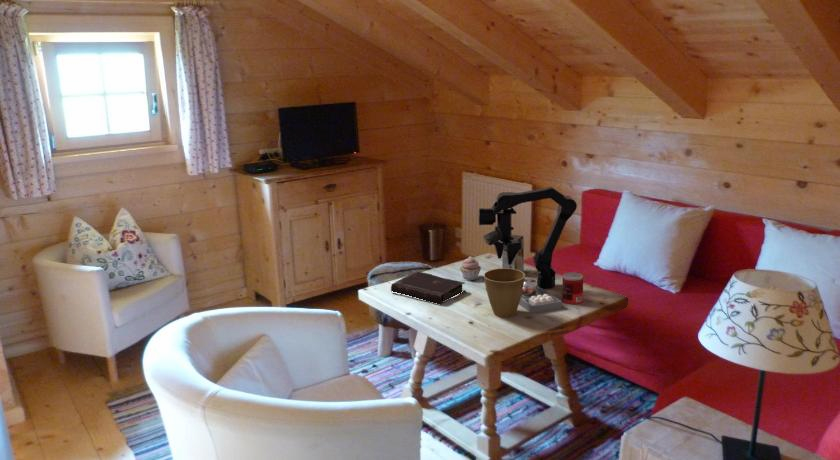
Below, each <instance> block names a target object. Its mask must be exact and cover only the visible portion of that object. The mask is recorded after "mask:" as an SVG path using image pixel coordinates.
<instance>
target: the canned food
mask: <svg viewBox="0 0 840 460" xmlns="http://www.w3.org/2000/svg"><path fill="white" fill-rule="evenodd" d="M561 292H562V293H561V295H562V298H561V301H562V303H565V304H566V305H579V304H582V303H583V300H584V299H583V297H584V275H583V274H582V273H581V272H580V273H579V272H566V273H563V274H562V291H561Z"/></svg>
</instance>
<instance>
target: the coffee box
mask: <svg viewBox="0 0 840 460" xmlns="http://www.w3.org/2000/svg"><path fill="white" fill-rule="evenodd" d="M512 237H514V240H511V241H515V240H516V241H518V242H520V243H521V244H522V249H520V251H518V252H517V254H516V256H515V258H514V260H513V262H512V264H511V265H508V259H507V253H506V252H505V251H504V249H503V253H502V257H501V262H502V263H501V268H511V269H516V270H520V271H522V272H524V270H525V269H524V267H525V266H524V262H525V261H524V256H525V255H524V254H525V253H524V251H525V250H524V244H525V243H524V235H519V234H517V235H516V234H512Z"/></svg>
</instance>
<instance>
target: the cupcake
mask: <svg viewBox="0 0 840 460" xmlns="http://www.w3.org/2000/svg"><path fill="white" fill-rule="evenodd" d="M459 270H460V272H461V274H462V278H463V279H464V280H465V279H466V280H465V281H476V280H478V278H479V275H480V271H481V270H482V266H480V264H479V261H478V260H477V259H475V258H474V257H472V256H471V255H470V256H468V257H467V258H466V259H464V260H463V262H462V263H461V266H459ZM475 279H476V280H475Z"/></svg>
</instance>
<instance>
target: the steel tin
mask: <svg viewBox="0 0 840 460" xmlns="http://www.w3.org/2000/svg"><path fill="white" fill-rule="evenodd" d="M536 285H537V280H535V279H533V278H532V279H531V278H525V279H524V285H523V291H522V295H521V298H523V299H526V298H531V297H532V296H536Z"/></svg>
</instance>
